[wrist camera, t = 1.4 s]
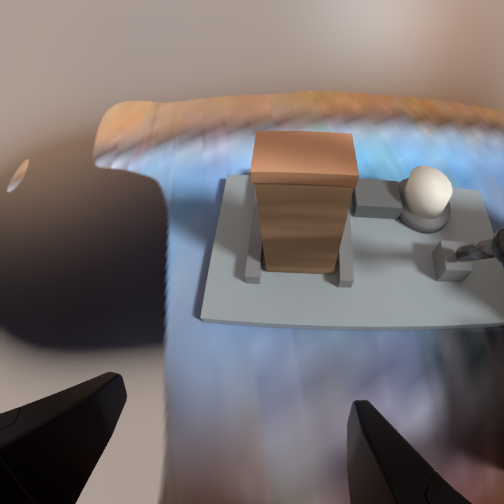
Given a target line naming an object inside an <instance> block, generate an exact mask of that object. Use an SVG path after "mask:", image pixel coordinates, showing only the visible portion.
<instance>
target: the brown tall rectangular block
mask: <svg viewBox="0 0 504 504" xmlns="http://www.w3.org/2000/svg"><path fill="white" fill-rule="evenodd" d="M250 174H251V180H252V183H254V184H255V192H256V199H257V206H258V213H259V221H260V228H261V235H262V243H263V250H264V258H265V265H266V272H284V273H308V274H333V271H334V268H335V264H336V260H337V256H338V252H339V248H340V244H341V240H342V236H343V232H344V228H345V224H346V220H347V216H348V211H349V207H350V202H351V198H352V193H353V189H354V187H356V186H357V182H358V177H359V173H358V167H357V161H356V154H355V149H354V143H353V137H352V134H347V133H331V132H308V131H256V137H255V144H254V150H253V157H252V163H251V170H250Z"/></svg>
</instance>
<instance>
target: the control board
mask: <svg viewBox="0 0 504 504" xmlns="http://www.w3.org/2000/svg"><path fill="white" fill-rule="evenodd" d="M493 236H494V232H493V229H492V226H491V223H490V219H489V216H488V214H487V211H486V208H485V205H484V202H483V199H482V197H481V194H480V191H474V190H467V189H460V188H452V185H451V183H450V181H449V180H448V178H447V177H446V176H445V175H444V174H443V173H442V172H440V171H439V170H437V169H435V168H432V167H429V166H419V167H416V168H414V169H413V170H412V172H411V174H410V177H409V178H407V179H404V180H402V181H401V182H397V181H385V180H372V179H358V182H357V186H356V187H354V189H353V193H352V198H351V202H350V207H349V211H348V216H347V220H346V224H345V228H344V232H343V236H342V240H341V244H340V248H339V252H338V256H337V260H336V264H335V268H334V271H333V274H308V273H284V272H266V265H265V258H264V250H263V243H262V235H261V228H260V221H259V213H258V206H257V199H256V192H255V184H254V183H252V180H251V175H227V179H226V184H225V188H224V193H223V198H222V203H221V208H220V213H219V218H218V223H217V228H216V233H215V239H214V244H213V249H212V254H211V260H210V265H209V271H208V276H207V282H206V287H205V293H204V299H203V305H202V310H201V316H200V318H201V320H202V321H203V322H207V323H218V324H230V325H243V326H257V327H273V328H292V329H316V330H357V331H403V330H442V329H464V328H481V327H496V326H504V268H503V264H502V263H501V262H499V261H498V260H497V259H496V258H489V259H482V260H475V261H468V262H459V261H458V260H457V259H456V256H455V252H456V250H457V248H459V247H461V246H465V245H469V244H473V243H477V242H481V241H485V240H489V239H492V238H493Z"/></svg>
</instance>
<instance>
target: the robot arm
mask: <svg viewBox="0 0 504 504" xmlns="http://www.w3.org/2000/svg"><path fill="white" fill-rule="evenodd" d="M126 399H127V393H126V389H125V385H124V382H123V378H122V376H121V375H120V374H118V373H113V372H107V373H105V374H102V375H100V376H98V377H95V378H93V379H90V380H88V381H86V382H83V383H80V384H78V385H76V386H73V387H71V388H68V389H66V390H63V391H61V392H58V393H55V394H53V395H50V396H48V397H45V398H42V399H40V400H37V401H34V402H32V403H29V404H27V405H24V406H22V407H18V408H15V409H13V410H10V411H7V412H4V413H1V414H0V504H75V503H76V501H77V500H78V498H79V496H80V494H81V492H82V490H83V488H84V486H85V484H86V483H87V481H88V479H89V477H90V475H91V473H92V471H93V469H94V468H95V466H96V464H97V462H98V460H99V458H100V457H101V455H102V453H103V451H104V449H105V447H106V446H107V444H108V442H109V440H110V438H111V436H112V434H113V432H114V429H115V427H116V424H117V421H118V419H119V417H120V414H121V412H122V410H123V407H124V405H125V402H126ZM347 474H348V483H349V492H350V501H351V504H472V503H471V502H469V501H468V500H467V499H465V498H464V497H463V496H462V495H461V494H459V493H458V492H457V491H456V490H455V489H453V488H452V487H451V486H450V485H449V484H448V483H447V482H446V481H445V480H444V479H443V478H442V477H441V476H440V475H439V474H438V473H437V472H436V471H434V469H433V468H432V467H431V466H430V465H429V464H428V463H427V462H426V461H425V460H424V459H423V458H422V457H421V455H420V454H419V453H418V452H417V451H416V450H415V449H414V448H413V447H412V446H411V445H410V444H409V443H408V442H407V441H406V440H405V439H404V438H403V437H402V436H401V435H400V434H399V433H398V432H397V430H396V429H395V428H394V427H393V426H392V425H391V424H390V423H389V422H388V421H387V420H386V419H385V418H384V417H383V416H382V415H381V414H380V413H379V412H378V411H377V409H376V408H375V407H374V406H373V405H372V404H371V403H370V402H369V401H367V400H355V401H354V402H353V403H352V407H351V411H350V415H349V419H348V425H347Z"/></svg>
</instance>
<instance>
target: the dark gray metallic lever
mask: <svg viewBox="0 0 504 504" xmlns="http://www.w3.org/2000/svg"><path fill="white" fill-rule="evenodd" d="M455 256H456V259H457V260H458V261H459V262H468V261H475V260H482V259H489V258H496V259H497V260H498V261H499V262H501V263H503V264H504V227H502V228H500V229H499V230H497V231H496V233H495V234H494V236H493V238H492V239H489V240H485V241H481V242H477V243H473V244H469V245H465V246H461V247H459V248H457V250H456V252H455Z"/></svg>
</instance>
